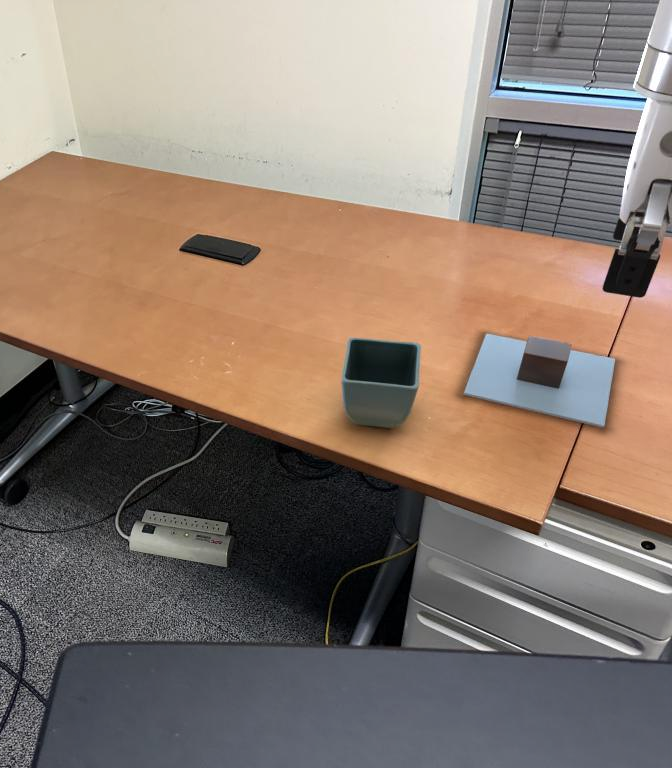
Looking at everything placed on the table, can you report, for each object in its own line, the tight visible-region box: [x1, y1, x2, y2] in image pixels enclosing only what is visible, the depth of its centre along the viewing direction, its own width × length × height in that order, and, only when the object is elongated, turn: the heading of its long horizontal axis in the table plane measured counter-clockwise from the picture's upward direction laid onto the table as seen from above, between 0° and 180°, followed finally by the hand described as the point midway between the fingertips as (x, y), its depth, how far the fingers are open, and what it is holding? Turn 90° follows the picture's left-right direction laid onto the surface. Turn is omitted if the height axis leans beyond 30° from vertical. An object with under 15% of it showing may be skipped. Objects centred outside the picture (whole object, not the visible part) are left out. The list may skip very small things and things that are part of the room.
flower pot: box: [340, 337, 422, 429], centre depth 86 cm, size 9×9×9 cm
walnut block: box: [517, 335, 573, 389], centre depth 89 cm, size 5×4×4 cm
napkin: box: [463, 333, 616, 429], centre depth 90 cm, size 16×14×1 cm
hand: (627, 265), depth 63 cm, fingers open, 9 cm apart
